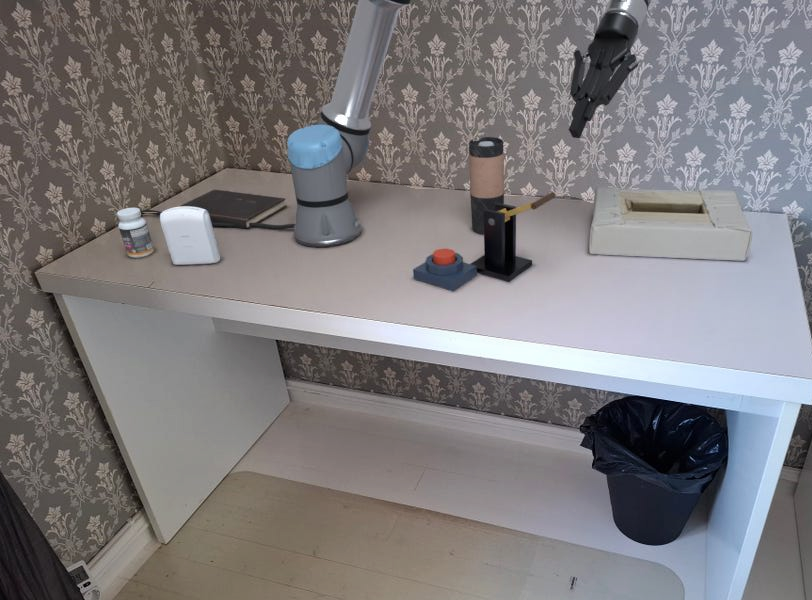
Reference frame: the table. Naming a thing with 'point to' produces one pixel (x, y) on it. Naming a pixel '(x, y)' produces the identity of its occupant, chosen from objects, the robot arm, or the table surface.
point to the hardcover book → (237, 207)
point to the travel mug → (485, 178)
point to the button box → (445, 273)
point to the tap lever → (528, 206)
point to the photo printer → (189, 235)
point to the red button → (444, 256)
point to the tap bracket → (500, 246)
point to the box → (669, 224)
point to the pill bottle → (134, 233)
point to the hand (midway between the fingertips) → (574, 133)
